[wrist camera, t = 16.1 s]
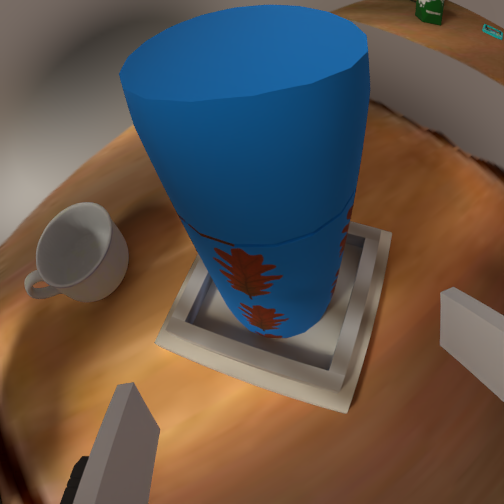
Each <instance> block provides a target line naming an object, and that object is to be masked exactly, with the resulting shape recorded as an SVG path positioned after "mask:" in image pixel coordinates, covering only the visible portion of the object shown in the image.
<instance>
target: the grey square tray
mask: <svg viewBox="0 0 504 504" xmlns="http://www.w3.org/2000/svg"><path fill="white" fill-rule="evenodd" d="M391 237H392V232H388V231H385V230H381V229H378V228H374V227H370V226H366V225H363V224H359V223H355V222H351V221H350V224H349V229H348V233H347V238H346V243H345V248H344V252H343V257H342V261H341V266H340V270H339V274H338V278H337V283H336V287H335V291H334V293H333V296H332V298H331V301H330V303H329V306H328V308H327V309H326V311H325V313H324V314H323V316H322V317H321V319H320V321H319V322H317V323H316V324H315V325H314V326H312V327H311V328H310V329H309V330H307V331H306V332H305V333H302V334H299V335H296V336H292V337H289V338H266V337H264V336H261V335H259V334H256V333H254V332H251V331H249V330H248V329H247V328H246V327H245V326H244V325H243V324H242V323H241V322H240V321H238V320H237V318H236V317H235V316H234V315H233V313H232V312H231V311H230V309H229V308H228V307H227V305H226V303H225V301H224V300H223V298H222V296H221V294H220V292H219V291H218V289H217V287H216V285H215V283H214V281H213V280H212V278H211V276H210V274H209V272H208V270H207V269H206V267H205V265H204V263H203V261H202V259H201V257H200V256H199V254H198V255H197V257H196V259H195V260H194V262H193V264H192V266H191V268H190V270H189V272H188V274H187V276H186V278H185V280H184V282H183V284H182V287H181V289H180V291H179V293H178V295H177V297H176V299H175V301H174V303H173V305H172V307H171V309H170V311H169V313H168V315H167V317H166V319H165V322H164V324H163V326H162V328H161V330H160V332H159V334H158V336H157V338H156V341H155V344H156V345H158V346H160V347H162V348H164V349H166V350H168V351H170V352H173V353H175V354H177V355H179V356H182V357H184V358H186V359H189V360H191V361H193V362H196V363H198V364H201V365H203V366H205V367H208V368H210V369H213V370H215V371H218V372H220V373H223V374H225V375H228V376H231V377H233V378H236V379H239V380H241V381H244V382H247V383H249V384H252V385H255V386H258V387H261V388H263V389H266V390H269V391H272V392H275V393H278V394H281V395H284V396H287V397H290V398H293V399H296V400H300V401H303V402H306V403H309V404H313V405H316V406H320V407H323V408H326V409H330V410H334V411H337V412H341V413H347V412H348V409H349V406H350V403H351V400H352V397H353V394H354V391H355V388H356V385H357V382H358V378H359V375H360V372H361V368H362V365H363V362H364V358H365V354H366V351H367V347H368V344H369V340H370V336H371V332H372V328H373V324H374V320H375V316H376V312H377V308H378V303H379V299H380V294H381V290H382V285H383V280H384V276H385V270H386V265H387V260H388V255H389V249H390V243H391Z"/></svg>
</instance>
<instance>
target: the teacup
mask: <svg viewBox="0 0 504 504" xmlns="http://www.w3.org/2000/svg"><path fill="white" fill-rule="evenodd" d="M128 262H129V252H128V247H127V244H126V241H125V239H124V237H123V235H122V234H121V232H120V230H119V229H118V228H117V226H116V225H115V223H114V222H113V221H112V219H111V218H110V215H109V213H108V212H107V211H106V210H105V209H104V208H103V207H102V206H100V205H99V204H96V203H92V202H83V203H78V204H75V205H72V206H70V207H68V208H66V209H65V210H63V211H61V212H60V213H59V214H58V215H56V216H55V217H54V219H53V220H52V221H51V222H50V223H49V224H48V225H47V227H46V228H45V230H44V231H43V233H42V235H41V237H40V240H39V243H38V246H37V251H36V265H37V269H38V270H36V271H33V272H32V273H30V274H29V275H28V276H27V277H26V279H25V289H26V291H27V293H28V295H29V296H31V297H32V298H35V299H45V298H49V297H52V296H55V295H57V294H65V295H66V296H68V297H70V298H72V299H74V300H77V301H80V302H95V301H98V300H101V299H103V298H105V297H107V296H108V295H110V294H111V293H112V292H113V291H114V290H115V289H116V288H117V287H118V286H119V284H120V283H121V281H122V280H123V278H124V276H125V273H126V271H127V267H128ZM40 281H45V282H46V283H47V284H49V285H50V286H48V287H44V288H34V287H33V285H34V284H35V283H37V282H40Z"/></svg>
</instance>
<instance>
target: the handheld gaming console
mask: <svg viewBox="0 0 504 504" xmlns="http://www.w3.org/2000/svg"><path fill="white" fill-rule="evenodd" d="M487 27H490V28H492V29H494V30H496V31H498V32H500V34H498V33H496V32H494V31H492V30H490V29H488V28H487ZM482 31H483V32H485V33H487V34H489V35H491V36H493V37H495V38H498V39H500V40H502V36H503V33H502V32H501V31H499V30H497V29H495V28H493V27H491V26H489V25H486V24H484V26H483V29H482Z"/></svg>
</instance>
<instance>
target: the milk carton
mask: <svg viewBox="0 0 504 504" xmlns="http://www.w3.org/2000/svg"><path fill="white" fill-rule="evenodd" d="M443 7H444V0H417V2H416V12H415V15H416V16H417V17H418V18H419V19H420V20H421V21H422V22H427V23H432V24H437V25H441V21H442V14H443Z"/></svg>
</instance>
